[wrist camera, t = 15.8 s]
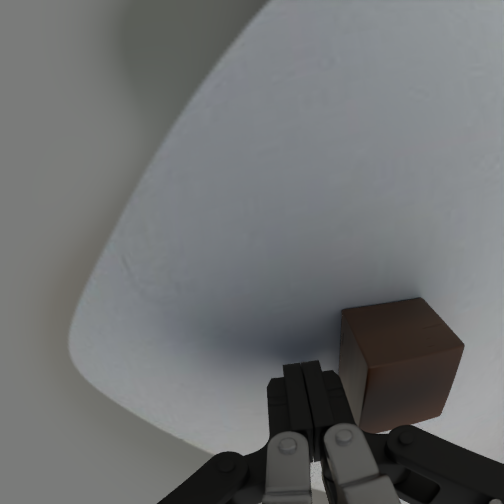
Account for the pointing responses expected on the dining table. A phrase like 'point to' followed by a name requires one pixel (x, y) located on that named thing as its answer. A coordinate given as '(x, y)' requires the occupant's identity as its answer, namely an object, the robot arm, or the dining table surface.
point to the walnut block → (396, 363)
